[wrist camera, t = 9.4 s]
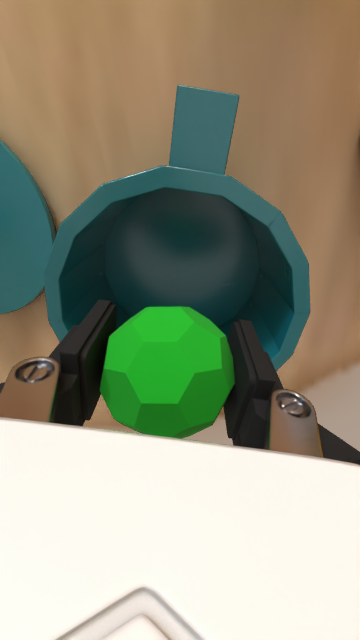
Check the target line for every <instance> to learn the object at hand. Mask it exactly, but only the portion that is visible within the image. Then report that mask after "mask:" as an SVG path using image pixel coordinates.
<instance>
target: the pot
mask: <svg viewBox="0 0 360 640" xmlns="http://www.w3.org/2000/svg"><path fill="white" fill-rule="evenodd" d="M238 102H239V95H237V94H231V93H225V92H219V91H213V90H207V89H201V88H195V87H189V86H183V85H178V86H177V93H176V103H175V113H174V122H173V132H172V142H171V152H170V161H169V166H167V165H165V166H159V167H156V168H153V169H150V170H146V171H143V172H140V173H136V174H133V175H130V176H127V177H123V178H120V179H117V180H114V181H110V182H107V183H104V184H103V185H101V186H100V187H99V188H98V189H97V190H95V191H94V192H93V193H92V194H91V195H90V196H89V197H88V198H87V199H86V200H85V201H84V202H83V203H82V204H81V205H80V206H79V207H78V208H77V209H76V210H75V211H74V212H73V213H72V214H71V215H70V216H68V217H67V218H66V219H65V220H64V221H63V222H62V223H61V225H60V226H59V229H58V232H57V235H56V238H55V240H54V243H53V246H52V249H51V252H50V255H49V258H48V261H47V264H46V267H45V270H44V272H43V274H44V275H43V277H44V286H45V295H46V303H47V312H48V320H49V323H50V325H51V327H52V329H53V331H54V332H55V334H56V336H57V338H58V340H59V341H60V342H61V341H62V339H63V338H64V337H65V336H66V334H67V333H68V332H69V331H70V329H71V328H72V327H73V326H74V325H80V324H81V322H82V321H83V320H84V319H85V317H86V316H87V315H88V313H89V312H90V311H91V309H92V308H93V307H94V305H95V304H96V303H97V301H98V300H106V301H112V302H113V305H116V306H117V323H116V330H117V329H118V328H119V327H120V326H122V325H123V324H124V323H125V322H126V321H128V320H129V319H130V318H132V317H133V316H135V315H136V314H137V313H139V312H140V311H141V310H143V309H144V308H146V307H190V308H192V309H194V310H195V311H197V312H198V313H200V314H201V315H203V316H204V317H206V318H208V319H209V320H210V321H211V322H213V323H214V324H215V325H216V326H217V327H218V328H219V329H220V330H221V331H222V332H223V333H224V334H225V335H226V338H227V341H228V337H229V333H230V330H231V326H232V323H233V322H237V320H238V319H240V320H247V321H251V322H252V324H253V327H254V329H255V332H256V334H257V336H258V339H259V341H260V344H261V346H262V348H263V351H266V352H267V353H268V354H269V356H270V359H271V361H272V363H273V366H274V368H275V370H276V371H277V370H278V369H279V368H280V367H281V366H282V365H283V364H284V363H285V362H286V361H287V360H288V359H289V358H290V357H291V355H293V353H294V350H295V348H296V345H297V343H298V341H299V338H300V336H301V334H302V331H303V329H304V327H305V324H306V322H307V319H308V317H309V315H310V287H309V263H308V260H307V258H306V256H305V255H304V253H303V251H302V249H301V247H300V245H299V243H298V242H297V240H296V238H295V236H294V234H293V232H292V230H291V229H290V227H289V225H288V223H287V221H286V219H285V217H284V216H283V214H282V213H281V211H280V210H278V209H277V208H275V207H274V206H272V205H271V204H270V203H268V202H267V201H265V200H264V199H262V198H261V197H260V196H258V195H257V194H255V193H254V192H253V191H251V190H250V189H248V188H247V187H245V186H244V185H243V184H241V183H240V182H238V181H237V180H235V179H234V178H233V177H231V176H229V175H224V174H225V169H226V164H227V159H228V154H229V148H230V143H231V138H232V133H233V128H234V122H235V117H236V112H237V107H238Z"/></svg>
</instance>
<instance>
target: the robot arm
mask: <svg viewBox="0 0 360 640" xmlns="http://www.w3.org/2000/svg"><path fill="white" fill-rule="evenodd" d="M116 323H117V306H116V305H113V302H112V301H106V300H98V301H97V303H96V304H95V305H94V307H93V308H92V309H91V311H90V312H89V313H88V315H87V316H86V317H85V319H84V320H83V321H82V322H81V324H80V325H74V326H73V327H72V328H71V329H70V331H69V332H68V333H67V334H66V336H65V337H64V338H63V339H62V341H61V342H60V343H59V344H58V346H57V347H56V348H55V350H54V351H53V352H52V353H51V355H50V356H49V357H33V358H29V359H26V360H23V361H21V362H19V363H18V364H16V365H15V366H14V367H13V368H12V370H11V371H10V373H9V375H8V377H7V380H6V382H4V383H1V384H0V640H360V452H359V451H358V450H356V449H355V448H353V447H352V446H350V445H349V444H347V443H346V442H345V441H343V440H342V439H340V438H339V437H337V436H336V435H334V434H333V433H331V432H330V431H328V430H327V429H325V428H324V427H323V426H321V425H319V424H318V423H317V417H316V411H315V409H314V406H313V405H312V404H311V402H310V401H309V400H308V399H307V398H305V397H304V396H303V395H301V394H299V393H297V392H295V391H292V390H288V389H283V386H282V384H281V382H280V379H279V377H278V375H277V372H276V370H275V368H274V366H273V363H272V361H271V359H270V356H269V354H268V353H267V352H266V351H263V348H262V346H261V344H260V341H259V339H258V336H257V334H256V332H255V329H254V327H253V324H252V322H251V321H247V320H240V319H238V320H237V322H233V323H232V326H231V330H230V333H229V337H228V344H229V347H230V350H231V353H232V356H233V365H234V377H235V384H234V386H233V388H232V390H231V392H230V394H229V396H228V398H227V400H226V402H225V404H224V405H223V406H224V413H225V420H226V427H227V434H228V438H232V440H233V446H232V445H225V444H218V443H211V442H202V441H195V440H187V439H179V438H171V437H163V436H155V435H147V434H139V433H131V432H123V431H115V430H107V429H99V428H90V427H82V426H83V424H84V422H85V420H90V419H91V416H92V414H93V412H94V409H95V407H96V404H97V402H98V400H99V397H100V395H101V392H100V383H101V377H102V371H103V365H104V360H105V354H106V349H107V344H108V338H109V336H110V335H111V334H112V333H113V332H114V331H116Z"/></svg>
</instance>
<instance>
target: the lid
mask: <svg viewBox="0 0 360 640" xmlns="http://www.w3.org/2000/svg"><path fill="white" fill-rule="evenodd" d="M55 238H56V236H55V230H54V225H53V221H52V217H51V214H50V211H49V208H48V206H47V203H46V201H45V198H44V196H43V194H42V192H41V191H40V189H39V187H38V185H37V183H36V182H35V180H34V179H33V177H32V175H31V174H30V172H29V171H28V169H27V168H26V167H25V166H24V164H23V163H22V162H21V161H20V159H19V158H18V157H17V156H16V155H15V154H14V153H13V152H12V151H11V150H10V149H9V148H8V147H7V146H6V144H5V143H3V142H2V141H1V140H0V314H4V313H9V312H12V311H15V310H18V309H20V308H22V307H24V306H26V305H27V304H28V303H30V302H31V301H32V300H34V299H35V298H36V297H37V296H38V295H39V294H40V293H41V292H42V291H43V290H44V288H45V286H44V277H43V275H44V274H43V272H44V270H45V267H46V264H47V261H48V258H49V255H50V252H51V249H52V246H53V243H54V240H55Z"/></svg>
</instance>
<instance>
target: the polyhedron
mask: <svg viewBox="0 0 360 640" xmlns="http://www.w3.org/2000/svg"><path fill="white" fill-rule="evenodd" d="M234 384H235V377H234V365H233V356H232V353H231V350H230V347H229V344H228V341H227V338H226V335H225V334H224V333H223V332H222V331H221V330H220V329H219V328H218V327H217V326H216V325H215V324H214V323H213V322H211V321H210V320H209V319H208V318H206V317H204V316H203V315H201V314H200V313H198V312H197V311H195V310H194V309H192V308H190V307H146V308H144V309H143V310H141V311H140V312H139V313H137V314H136V315H135V316H133V317H132V318H130V319H129V320H128V321H126V322H125V323H124V324H123V325H122V326H120V327H119V328H118V329H117V330H116V331H114V332H113V333H112V334H111V335H110V336H109V338H108V344H107V349H106V354H105V360H104V365H103V371H102V377H101V383H100V392H101V394H102V396H103V398H104V400H105V402H106V404H107V406H108V408H109V410H110V412H111V414H112V416H113V418H114V419H115V420H116V421H118V422H119V423H121V424H123V425H125V426H127V427H129V428H131V429H133V430H135V431H137V432H140V433H142V434H147V435H155V436H163V437H171V438H179V439H182V438H185V437H188V436H191V435H193V434H195V433H197V432H199V431H201V430H203V429H205V428H207V427H209V426H212V425H213V423H214V422H215V420H216V418H217V416H218V414H219V413H220V411H221V409H222V407H223V405H224V404H225V402H226V400H227V398H228V396H229V394H230V392H231V390H232V388H233V386H234Z"/></svg>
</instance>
